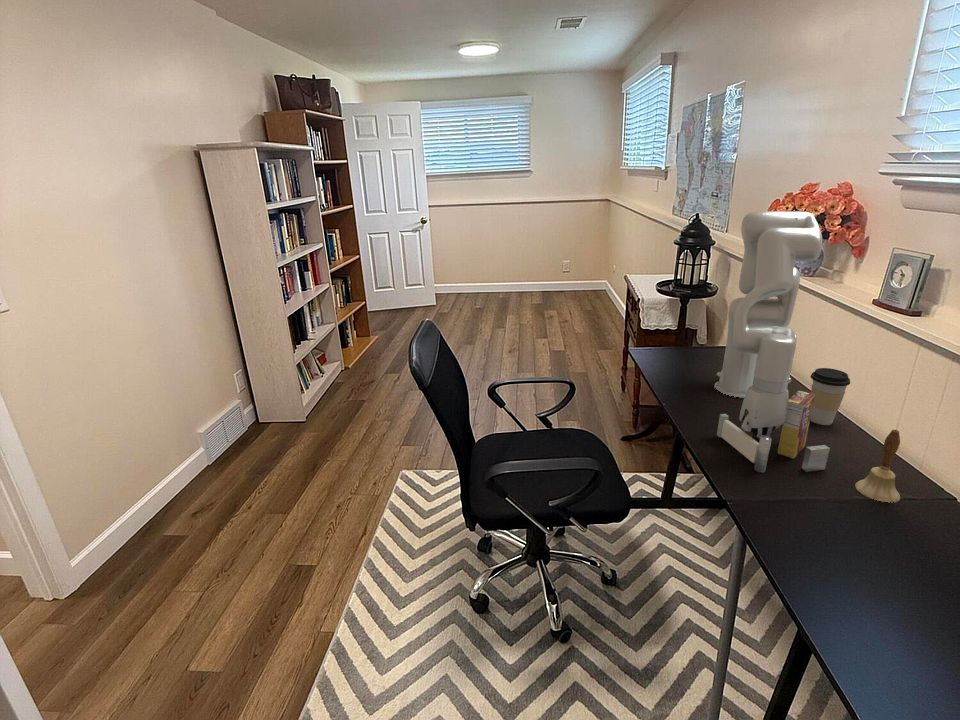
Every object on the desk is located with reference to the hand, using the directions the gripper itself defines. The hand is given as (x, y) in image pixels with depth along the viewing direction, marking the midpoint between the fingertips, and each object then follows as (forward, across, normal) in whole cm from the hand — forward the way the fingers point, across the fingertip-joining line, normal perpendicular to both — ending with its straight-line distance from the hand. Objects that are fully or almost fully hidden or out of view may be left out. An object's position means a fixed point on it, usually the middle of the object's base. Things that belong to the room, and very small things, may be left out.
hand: (757, 448), depth 132 cm
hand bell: (+2, -16, +20) cm, 26 cm away
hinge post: (+2, +4, +7) cm, 8 cm away
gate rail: (+1, +4, -2) cm, 5 cm away
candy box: (+2, -10, 0) cm, 10 cm away
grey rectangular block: (+2, -9, +9) cm, 13 cm away
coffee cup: (+2, -30, -13) cm, 33 cm away
